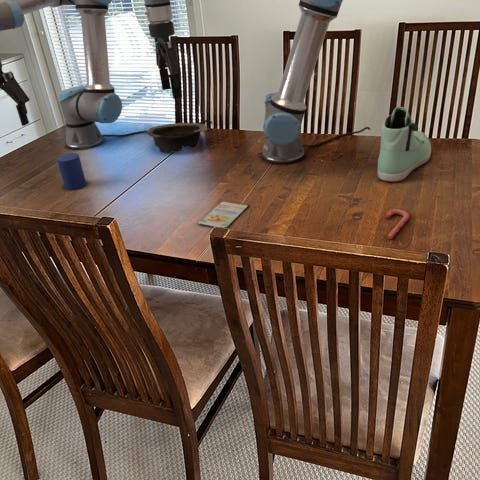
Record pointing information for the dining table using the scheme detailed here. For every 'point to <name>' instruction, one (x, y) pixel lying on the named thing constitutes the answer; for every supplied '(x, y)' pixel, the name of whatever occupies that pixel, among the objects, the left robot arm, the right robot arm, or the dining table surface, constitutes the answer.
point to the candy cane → (399, 221)
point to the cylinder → (71, 171)
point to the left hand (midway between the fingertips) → (8, 124)
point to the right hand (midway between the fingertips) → (172, 93)
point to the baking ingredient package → (223, 214)
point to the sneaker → (401, 146)
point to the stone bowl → (176, 136)
